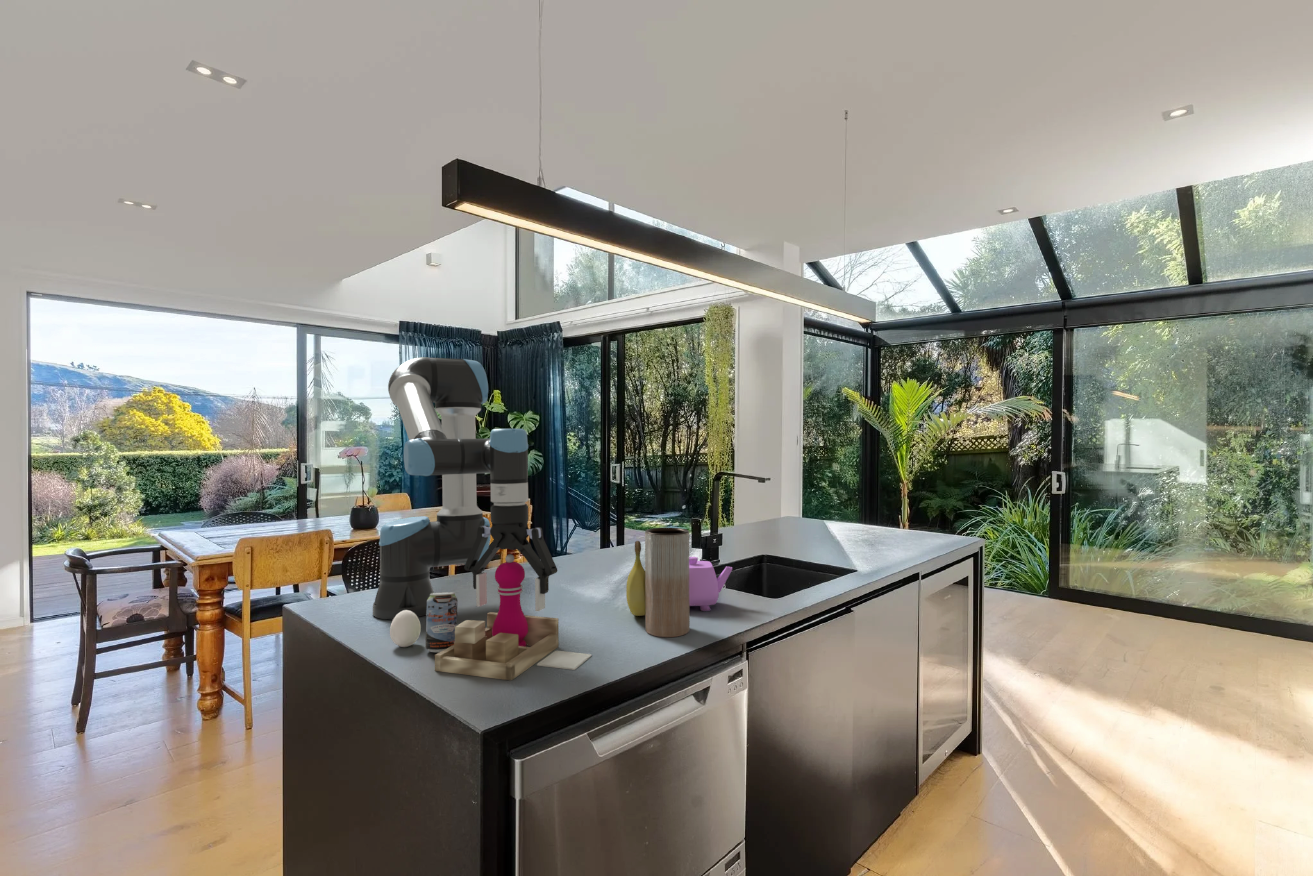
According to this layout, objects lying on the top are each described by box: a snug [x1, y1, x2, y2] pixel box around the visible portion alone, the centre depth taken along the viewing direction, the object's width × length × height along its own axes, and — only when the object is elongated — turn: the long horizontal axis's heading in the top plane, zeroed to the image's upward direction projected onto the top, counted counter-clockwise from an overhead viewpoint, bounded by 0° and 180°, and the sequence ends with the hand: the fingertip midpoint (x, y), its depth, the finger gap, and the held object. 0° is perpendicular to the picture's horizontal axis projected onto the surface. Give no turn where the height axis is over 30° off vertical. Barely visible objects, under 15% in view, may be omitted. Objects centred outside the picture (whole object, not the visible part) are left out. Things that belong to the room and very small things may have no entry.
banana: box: [625, 540, 645, 617], centre depth 156 cm, size 23×6×20 cm, turn 178°
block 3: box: [486, 633, 518, 663], centre depth 121 cm, size 4×5×6 cm
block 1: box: [455, 619, 486, 644], centre depth 123 cm, size 4×5×3 cm
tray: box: [434, 611, 560, 681], centre depth 126 cm, size 16×19×6 cm
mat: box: [536, 649, 592, 671], centre depth 125 cm, size 8×8×1 cm
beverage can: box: [424, 591, 458, 653], centre depth 131 cm, size 6×7×12 cm
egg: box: [389, 610, 422, 648], centre depth 134 cm, size 6×6×8 cm
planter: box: [644, 527, 691, 638], centre depth 143 cm, size 10×10×23 cm
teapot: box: [689, 556, 733, 612], centre depth 164 cm, size 20×12×13 cm, turn 90°
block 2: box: [454, 636, 487, 661], centre depth 123 cm, size 4×5×5 cm
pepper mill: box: [492, 553, 528, 647], centre depth 130 cm, size 7×7×20 cm
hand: (510, 607), depth 130 cm, fingers open, 13 cm apart
